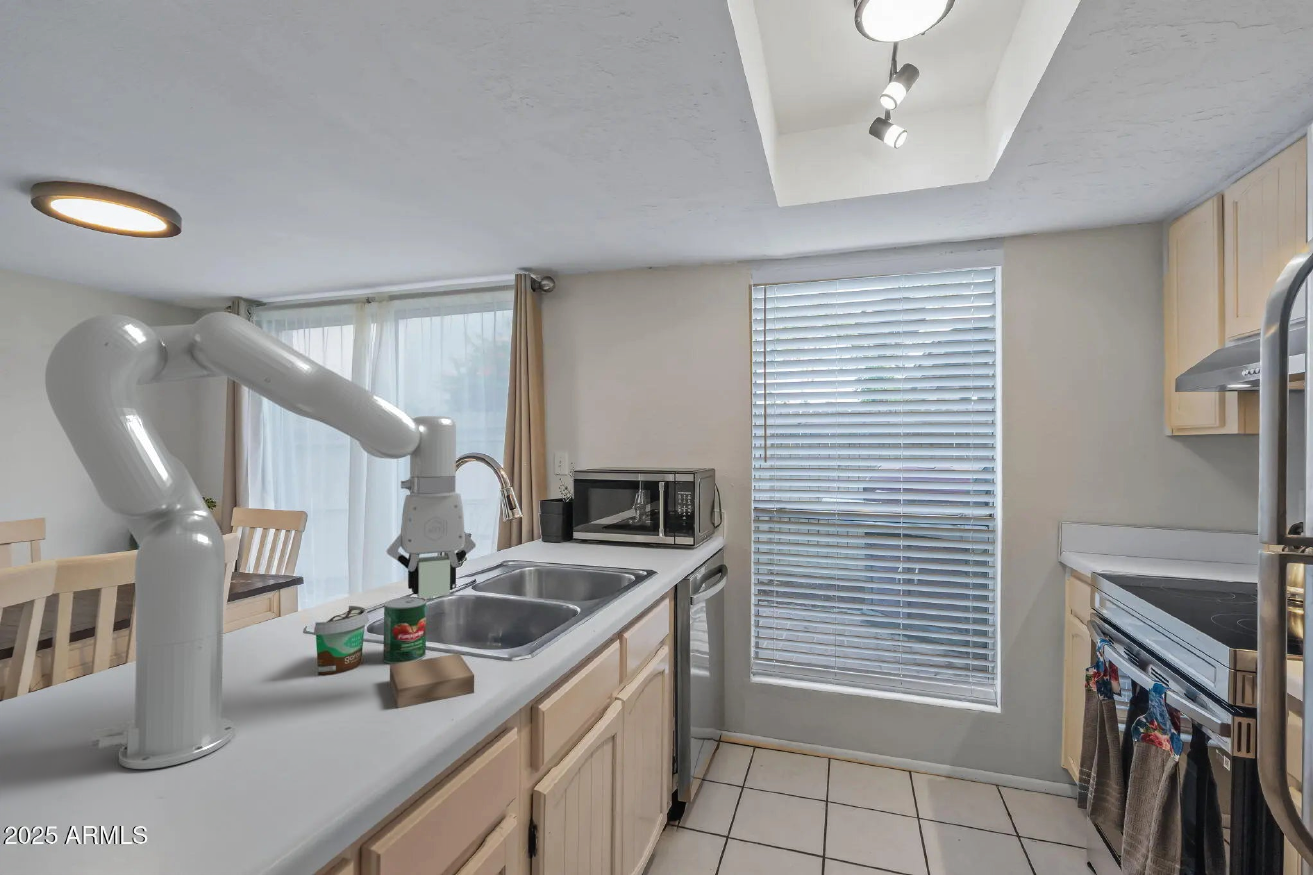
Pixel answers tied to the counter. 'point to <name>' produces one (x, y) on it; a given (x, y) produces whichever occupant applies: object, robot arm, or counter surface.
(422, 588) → the sage block
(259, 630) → the counter surface
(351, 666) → the food container
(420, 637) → the canned tomato
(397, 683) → the walnut base
